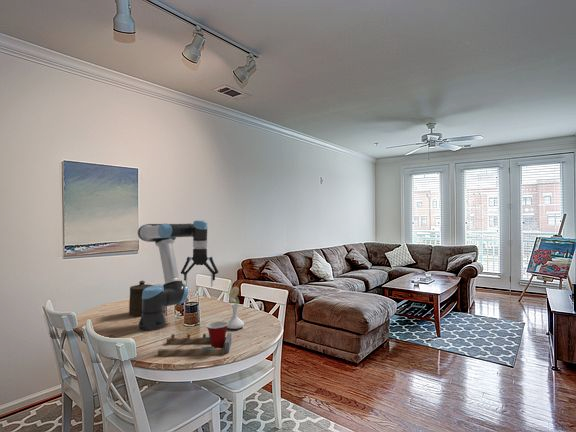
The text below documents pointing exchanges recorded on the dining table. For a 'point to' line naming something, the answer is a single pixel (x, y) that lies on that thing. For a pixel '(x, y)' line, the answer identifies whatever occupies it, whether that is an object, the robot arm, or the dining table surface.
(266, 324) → the dining table surface
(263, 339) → the dining table surface
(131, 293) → the wooden container
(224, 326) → the plastic cup
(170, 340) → the comb channel
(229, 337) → the end stop
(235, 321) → the flower in vase
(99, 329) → the dining table surface
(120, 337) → the dining table surface
